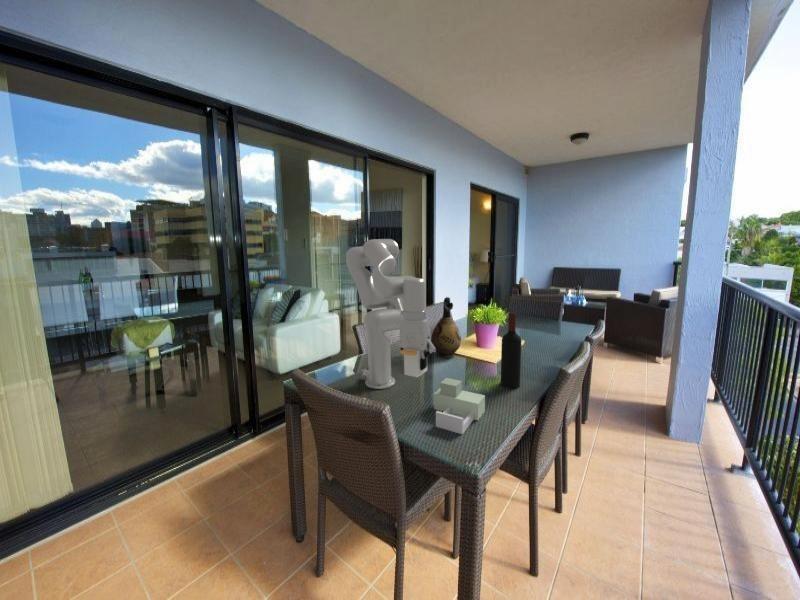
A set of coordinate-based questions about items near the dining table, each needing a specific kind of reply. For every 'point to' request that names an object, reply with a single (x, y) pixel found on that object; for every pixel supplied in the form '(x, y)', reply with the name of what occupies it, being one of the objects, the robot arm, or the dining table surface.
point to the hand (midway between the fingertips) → (416, 366)
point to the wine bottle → (511, 356)
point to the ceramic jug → (446, 333)
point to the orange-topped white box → (412, 362)
